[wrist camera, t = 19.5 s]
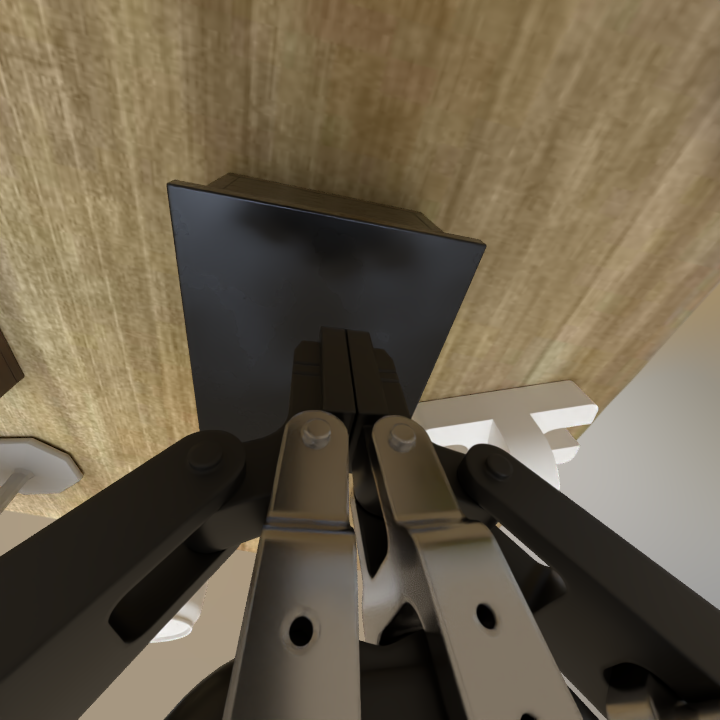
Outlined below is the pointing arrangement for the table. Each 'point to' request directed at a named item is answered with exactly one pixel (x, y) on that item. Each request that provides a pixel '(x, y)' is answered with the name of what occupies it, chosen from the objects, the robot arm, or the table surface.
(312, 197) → the metal box
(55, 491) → the wineglass
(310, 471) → the robot arm
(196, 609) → the beverage can
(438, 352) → the lid
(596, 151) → the table surface
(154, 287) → the table surface
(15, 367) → the drawer cabinet
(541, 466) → the white slotted bracket
